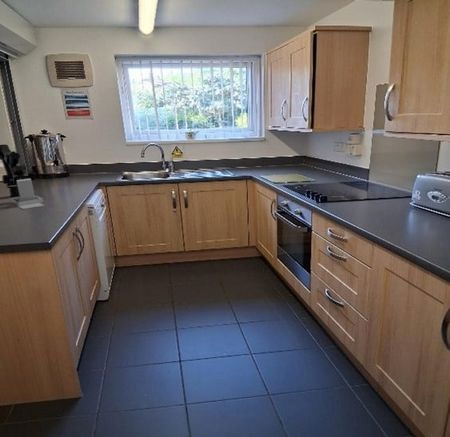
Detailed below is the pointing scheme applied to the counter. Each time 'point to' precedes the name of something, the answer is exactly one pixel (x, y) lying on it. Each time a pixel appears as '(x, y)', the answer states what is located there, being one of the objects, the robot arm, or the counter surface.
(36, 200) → the light grey flat frame
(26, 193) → the skincare box
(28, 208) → the pad
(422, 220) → the counter surface
